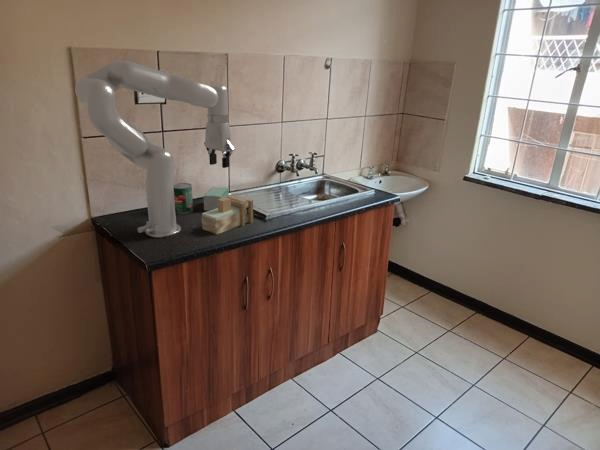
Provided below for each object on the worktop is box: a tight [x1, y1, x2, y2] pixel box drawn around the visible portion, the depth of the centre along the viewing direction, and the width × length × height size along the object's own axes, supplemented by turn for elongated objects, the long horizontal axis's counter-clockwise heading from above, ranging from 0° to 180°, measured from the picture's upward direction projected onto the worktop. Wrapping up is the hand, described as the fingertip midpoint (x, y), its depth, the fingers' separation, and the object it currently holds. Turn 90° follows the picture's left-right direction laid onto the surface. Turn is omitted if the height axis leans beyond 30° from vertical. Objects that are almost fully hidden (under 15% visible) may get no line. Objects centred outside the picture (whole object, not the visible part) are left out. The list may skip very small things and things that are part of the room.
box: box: [203, 187, 229, 212], centre depth 192 cm, size 7×14×8 cm, turn 174°
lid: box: [201, 197, 247, 221], centre depth 169 cm, size 16×8×6 cm, turn 143°
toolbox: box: [201, 193, 254, 235], centre depth 171 cm, size 18×11×10 cm, turn 143°
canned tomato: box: [173, 182, 194, 215], centre depth 187 cm, size 8×8×11 cm
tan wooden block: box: [227, 194, 249, 209], centre depth 174 cm, size 2×9×3 cm, turn 53°
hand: (219, 165), depth 175 cm, fingers open, 6 cm apart
